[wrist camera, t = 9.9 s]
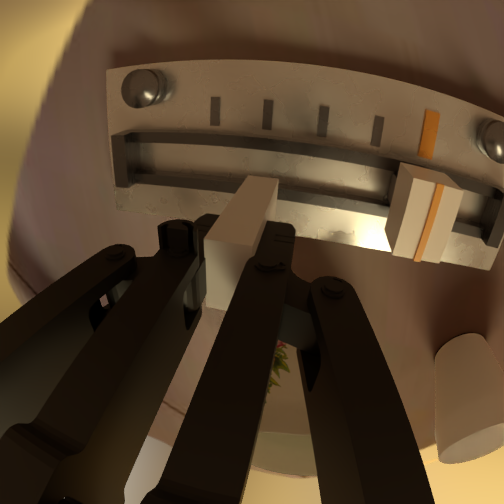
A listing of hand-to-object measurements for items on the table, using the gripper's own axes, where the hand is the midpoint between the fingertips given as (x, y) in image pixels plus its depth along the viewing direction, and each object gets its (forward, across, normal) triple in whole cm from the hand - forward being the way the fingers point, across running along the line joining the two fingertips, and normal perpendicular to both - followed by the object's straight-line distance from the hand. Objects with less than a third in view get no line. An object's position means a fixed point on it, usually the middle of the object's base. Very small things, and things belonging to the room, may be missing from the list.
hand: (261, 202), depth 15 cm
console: (+8, +3, +1) cm, 8 cm away
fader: (+5, +9, 0) cm, 10 cm away
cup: (+8, +23, -17) cm, 29 cm away
